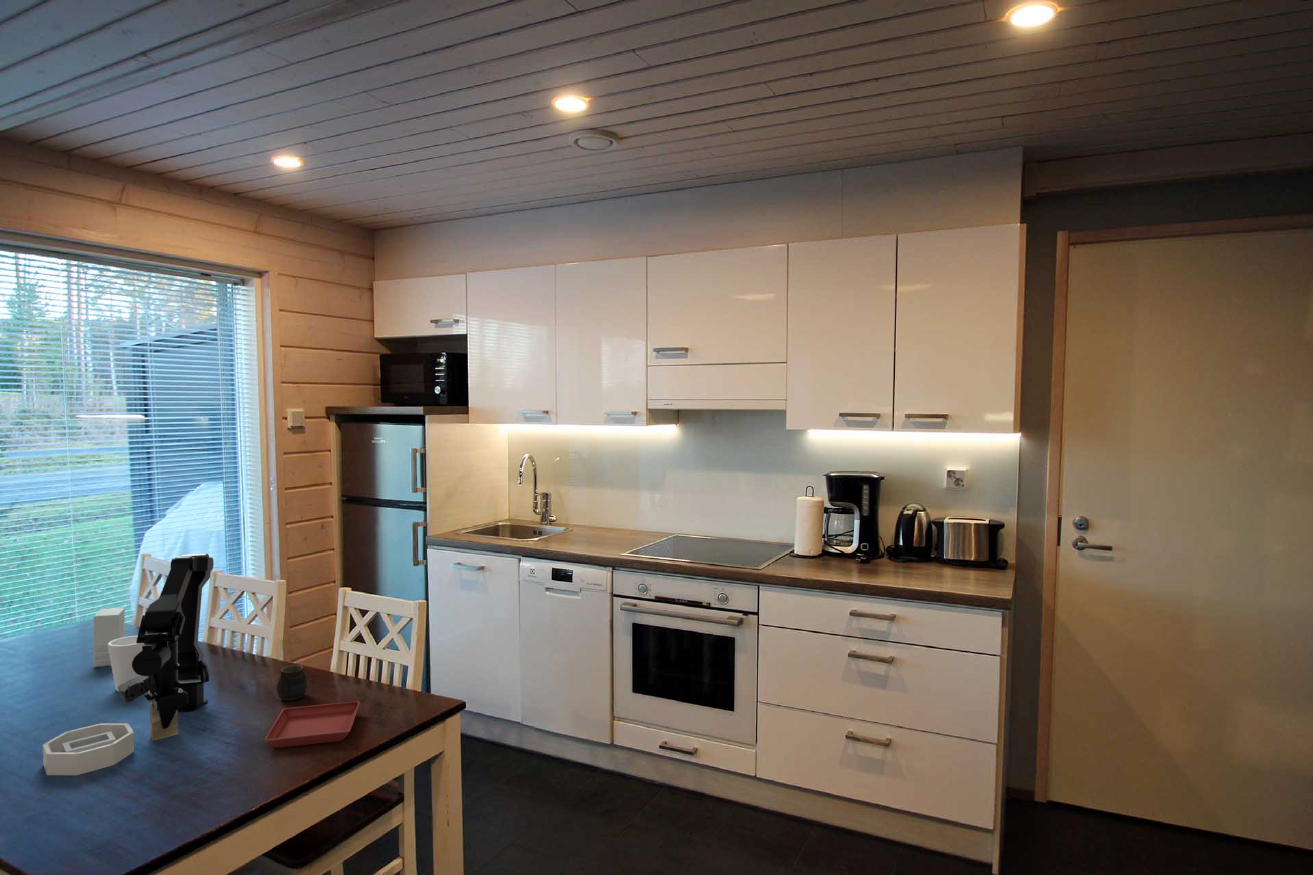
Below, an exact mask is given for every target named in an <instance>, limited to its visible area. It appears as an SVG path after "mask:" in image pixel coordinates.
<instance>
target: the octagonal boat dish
mask: <svg viewBox="0 0 1313 875" xmlns="http://www.w3.org/2000/svg"><path fill="white" fill-rule="evenodd" d="M134 734H135V732H134V730H133V729H132V727H131V726H130V724H129V723H126V722H124V723H123V722H122V723H117V722H115V723H110V722H106V723H105V722H103V723H101V722H100V723H97V724H94V725H93V724H92V725H89V726H84V727H80V728H76V729H72V730H68V731H65V732H63V733H61V734H59V735H57V736H56V737H54V738H52V739H50V740H49V741H47V742H45V743H43V744H42V760H43V761H42V763H43V764H42V765H43V768H44V770H45V774H46V776H79V775H83V774H86V773H89V772H94V771H97V770H100V769H102V770H103V769H104V768H108V767H112V766H114V765H116V764H118V763H119V762H121V761H122V760H124V759H125V758H126V757H128V756H130V755H132V754H133V753H135V735H134Z"/></svg>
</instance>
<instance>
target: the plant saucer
mask: <svg viewBox="0 0 1313 875" xmlns="http://www.w3.org/2000/svg"><path fill="white" fill-rule="evenodd" d="M360 703H361V702H360V701H358V700H357V701H355V700H354V701H345V702H336V703H328V704H327V703H326V704H316V705H306V706H295V707H287V708H283V709H281V712H280V713H279V714H278V716H277V718H276V720H275V721H274V723H273V725H272V726H271V728H270V730H269V732H268V733H267V735H266V737H264V741H265V742H266V743H268V744H269V745H270V746H272V747H274V748H285V747H286V748H287V747H295V746H297V747H298V746H304V745H305V746H306V745H313V744H314V745H315V744H322V743H323V744H325V743H333V742H334V743H335V742H341V741H344V739H346V737H347V736H348V735H349V734H350V732H351V729H352V727H353V724H354V722H355V718H356V715H357V712H358V710H359V707H360Z"/></svg>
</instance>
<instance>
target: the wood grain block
mask: <svg viewBox="0 0 1313 875" xmlns="http://www.w3.org/2000/svg"><path fill="white" fill-rule="evenodd" d="M150 703H153V699H151V700H150V701H149V738H150V739H151V741H152V742H154V741H159V740H161V739H166V738H169V737H173V736H176V735H179V729H178V728H179V727H178V726H179V719H178V718H179V715H178V713H179V711H178V709H177V711H176V713H175V715H174V717H173V719H172V721H171V723H170V725H169V727H168V728H166V729H163V728H162V724H161V720H160V716H159V711H157V710H156V709H155V708H154V707H153V706H152V705H151V704H150Z"/></svg>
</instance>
